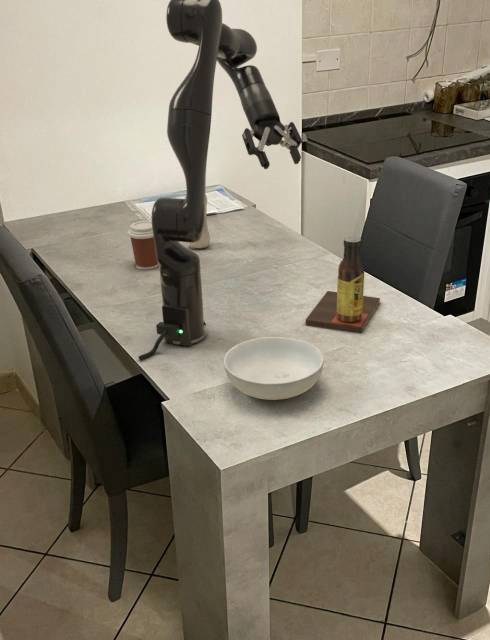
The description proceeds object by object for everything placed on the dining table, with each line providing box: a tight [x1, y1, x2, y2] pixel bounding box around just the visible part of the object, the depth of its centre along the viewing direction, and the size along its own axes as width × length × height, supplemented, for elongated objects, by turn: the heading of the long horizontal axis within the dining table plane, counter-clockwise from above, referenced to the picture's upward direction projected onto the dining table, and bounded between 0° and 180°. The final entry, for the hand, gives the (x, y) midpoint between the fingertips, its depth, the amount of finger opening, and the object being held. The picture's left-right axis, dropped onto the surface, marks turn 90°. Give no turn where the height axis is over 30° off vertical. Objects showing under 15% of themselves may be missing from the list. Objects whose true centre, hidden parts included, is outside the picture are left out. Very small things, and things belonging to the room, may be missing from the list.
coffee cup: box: [126, 220, 159, 271], centre depth 226 cm, size 9×9×12 cm
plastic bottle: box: [184, 193, 211, 249], centre depth 236 cm, size 6×7×20 cm
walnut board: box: [305, 290, 381, 334], centre depth 200 cm, size 18×14×2 cm
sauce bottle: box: [336, 236, 365, 322], centre depth 189 cm, size 7×6×20 cm
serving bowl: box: [223, 336, 325, 401], centre depth 168 cm, size 21×21×7 cm
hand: (282, 164), depth 195 cm, fingers open, 8 cm apart
